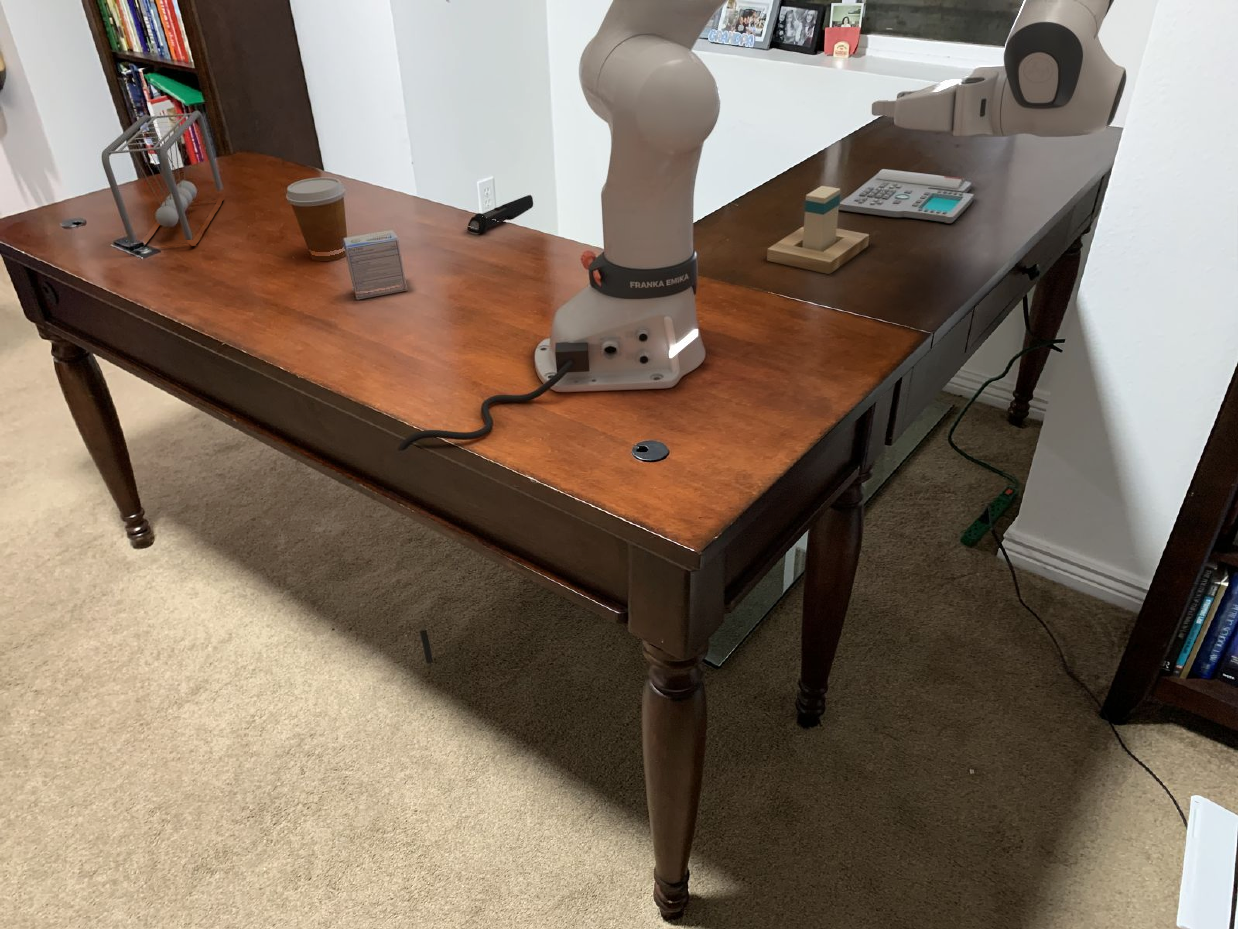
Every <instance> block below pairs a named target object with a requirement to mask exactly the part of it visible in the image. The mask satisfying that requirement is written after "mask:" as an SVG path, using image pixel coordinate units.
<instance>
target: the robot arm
mask: <svg viewBox="0 0 1238 929" xmlns="http://www.w3.org/2000/svg"><path fill="white" fill-rule="evenodd" d="M728 1H729V0H612V2H611V4H610V6H609V8H608V10H607V11H606V14H605V16H604V18H603V20H602V21H601V24H600V26H599V28H598V30H597V32H596V34H595V35H594V36H593V37H592V38H591V39H590V41H588V43H587V44H586V46H585V47H584V49H583V50H582V53H581V56H580V58H579V64H578V80H579V84H580V88H581V90H582V93H583V96H584V98H585V101H586V103H587V104H588V106H589V108H590V109H591V110H592V111H593V113H594V114H595V115H596V116H597V117H598V118H600V119H601V120H603V122H605V123H607V125H608V128H609V132H610V154H609V160H608V161H609V162H608V169H607V174H606V180H605V183H604V184H603V186H602V189H601V192H600V203H601V220H602V221H601V222H602V223H601V224H602V240H603V251H602V252H601V253H600V254H599V255H598V256H597V255H596V254H595V253H594V251H592V250H584V251H583V252H582V254H581V255H580V259H579V260H580V262H581V264H582V267H583V268H584V269H585V270H586V271H588V280H589V283H588V284H587V285H586V286H584V287H583V288H582V289H581V290H580V291H578V292H577V293H576V294H575V295H574V296H572V297H571V298H570V299H568V300H567V301H566V302H564V303H563V304H562V305H561V306H559V307H558V308H557V310H555V313H554V315H553V317H552V321H551V325H550V332H549V338H545V339H543V340H541V342H540V343H539V344H537V347H536V348H535V351H534V368H535V372H536V375H537V377H538V379H539V380H540V381H541V383H542V385H541V386H539V387H538V388H536V389H535V390H533V391H531V392H528V393H525V394H497V395H493V396H490V397H488V398H487V399H485V400H484V401H483V402H482V403H481V406H480V412H481V415H482V417H483V419H484V422H485V425H484V426H483V427H482V428H480V429H478V430H473V431H467V432H465V431H451V430H443V429H442V430H441V429H424V430H419V431H417V432H414V433H412V434H410V435H409V436H408V437H406V438H405V439H403V441H402V442H401V443H400V444H399V445H398V448H397V451H400V452H401V451H405V450H407V449H408V448H409V447H410V446H411V445H412V444H414V443H415V442H417V441H419V440H422V439H423V440H424V439H430V438H431V439H432V438H434V439H445V440H457V441H470V440H471V441H472V440H476V439H479V438H482V437H484V436H486V435H487V434H489V433H490V432H491V431H492V429H493V426H494V420H493V417H492V415H491V412H490V410H489V408H490V407H491V406H492V405H493V404H497V403H525V402H529V401H532V400H535V399H537V398H538V397H540V396H542V395H544V394H545V393H547V392H548V391H549V390H552V391H554V392H557V393H574V392H576V393H577V392H602V391H603V392H604V391H628V390H629V391H630V390H631V391H633V390H655V389H658V390H660V389H671V388H673V387H674V386H676V385H677V384H678V383H679V382H680V380H681V379H682V377H684V376H685V375H687V374H689V373H691V372H693V371H694V370H696V369H697V368H698V367H699V366H701V365H702V363H703V362H704V360H705V359H706V355H707V354H706V353H707V352H706V348H705V346H704V343H703V340H702V339H703V338H702V336H701V331H700V328H699V321H698V314H697V307H696V294H697V290H698V288H697V287H698V280H699V274H698V273H699V266H698V265H699V264H698V258H697V251H696V250H694V199H695V187H696V180H697V175H698V170H699V166H700V161H701V157H702V152H703V148H704V144H705V141H706V140H707V139H708V138H709V136H710V135H711V134H712V132H713V131H714V129H715V126H716V124H717V122H718V119H719V115H720V112H721V111H720V110H721V93H720V88H719V86H718V83H717V81H716V78H715V77H714V76H713V74H712V72H711V71H710V69H709V68H708V66H707V65H706V64H705V63H704V62H703V60H702V59H701V58H700V56H698V54H696V53H695V52H694V51H692V50H693V48H694V47H695V45H696V43H697V42H698V40H699V38H700V37H701V35H702V34H703V32H704V31H705V29H706V27H707V26H708V24H709V23H710V21H711V20H712V19H713V17H714V16H715V15H716V13H718V12H719V10H721V8H723V7H724V6H725V5H726V4H727V3H728ZM1114 2H1115V0H1023V3H1022V6H1021V7H1020V10H1019V13H1018V15H1017V17H1015V20H1014V23H1013V25H1012V28H1011V29H1010V32H1009V34H1008V37H1007V39H1006V42H1005V46H1004V50H1003V51H1004V52H1003V64H1000V65H999V64H997V65H995V64H994V65H979V66H978V65H977V66H976V67H975V69H974V70H973V71H972V73H971V74H970V75H969V76H964V77H962V78H961V79H949V80H948V79H947V80H943V81H940V82H937V83H935V84H932V85H930V86H926V87H924V88H922V89H918V90H917V89H916V90H905V91H901V92H898V93H897V95H896V99H895V100H887V99H886V100H876V101H874V102H872V104H871V115H872V116H875V117H877V116H878V117H879V116H880V117H888V118H892V119H893V123H894V126H895V127H897V128H901V129H905V130H914V131H927V132H941V133H942V132H943V133H945V132H946V133H947V132H948V133H949V132H952V134H953V136H954V137H956V138H959V137H961V138H966V137H971V138H976V137H977V138H983V137H984V138H986V137H987V138H1000V137H1001V138H1008V137H1013V136H1018V135H1024V134H1025V135H1031V136H1035V137H1038V138H1039V137H1040V138H1066V137H1079V136H1088V135H1093V134H1097V133H1100V132H1103V131H1104V130H1106V129H1107V128H1108V127H1110V125H1111V124H1112V123H1113V121H1114V119H1115V118H1116V114H1117V112H1118V109H1119V106H1120V102H1121V99H1122V98H1123V94H1124V91H1125V87H1126V84H1127V70H1126V68H1125V67H1123V66H1120V65H1118V64H1117V63H1115V61H1113V59H1112V58H1111V57H1110V56H1109V55H1108V54H1107V52H1106V50H1105V49H1104V47H1103V45H1102V43H1101V41H1100V38H1099V33H1100V30H1101V28H1102V25H1103V22H1104V20H1105V18H1106V17H1107V15H1108V13H1109V11H1110V9H1111V8H1112V5H1113V4H1114ZM419 635H420V639H421V643H422V648H423V652H424V653H423V654H424V657H425V662H426V664H432V663H433V661H434V660H433V654H432V649H431V644H430V640H429V634H428V630H427V629H422V630H419Z"/></svg>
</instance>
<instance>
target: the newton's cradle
mask: <svg viewBox="0 0 1238 929" xmlns="http://www.w3.org/2000/svg"><path fill="white" fill-rule="evenodd" d="M187 116H188V117H187ZM176 117H177V118H178V117H181V118H180V119H179V120H173V121H171V123H175V124H174V125H168V126H165V128H170V129H169V130H164V131H161V133H165V134H164V135H163V136H161V135H160V136H159V135H158V131H157V130H156V129H158V128H161V126H155V122H154V121H155V120H156V119H164V118H176ZM186 118H187V119H186ZM196 120H197V123H198V126H199V131H200V133H201V137H202V141H203V144H204V147H205V151H206V154H207V158H208V162H209V165H210V168H211V172H212V175H213V179H214V183H215V186H216V190H217V191H218V190H222V189H223V190H224V186H223V183H222V179H221V176H220V173H219V169H218V165H217V161H216V158H215V154H214V151H213V147H212V144H211V140H210V137H209V133H208V129H207V126H206V123H205V122H206V121H205V119H204V117H203V115H202V113H201V112H200V111H199V110H194V111H193V112H190V113H177V114H165V115H152V116H151V115H148V114H142V116H140V117H139V118H138V119H137V120H136V121H135V122H134V123H132V124H131V125H130V126H129V127H128V128H127V129H126V130H125V131H123V133H121V134H120V135H119V136H118V137H117V138H116V139H115V140H114V141H112V142H111V143H110V144H108V146H107V147H105V148H104V149H103V150H102V153H101V163H102V167H103V170H104V173H105V176H106V178H107V179H106V180H107V181H108V185H109V188H110V190H111V193H112V196H113V199H114V202H115V205H116V207H117V210H118V213H119V216H120V219H121V222H122V225H123V227H124V230H125V233H126V235H127V239H128V242H129V244H130V243H134V242H137V238H136V236H135V233H134V229H133V226H132V223H131V221H130V218H129V215H128V212H127V209H126V207H125V203H124V201H123V198H122V195H121V191H120V188H119V185H118V183H117V180H116V177H115V175H114V174H115V173H114V171H113V169H112V165H111V160H110V156H111V155H112V154H113V155H116V154H126V153H132V155H133V156H134V159H135V160H136V162H137V164H138V166H139V168H140V170H141V172H142V174H143V175H144V177H145V179H146V181H147V182H148V185H149V187H150V188H151V191H152V192H153V194H154V196H155V198H156V200H157V201H158V204H159V206H160V207H159V208H158V209H157V210H156V211H155V214H154V215H155V221H156V220H157V222H158V223H159V224H160V225H161V226H162V227H164V228H173V227H175V226H176V225H177V224H178V222H180V225H181V228H182V231H183V234H184V239H185V241H186V240H191V239H192V238H193V237H194V236H193V235H192V232H191V231H192V230H191V228H190V225H189V222H188V218H187V215H186V213H185V212H187V209H188V207H189V206H190V205H192V204H191V202H193V201H194V199H195V198H196V196H197V194H198V190H197V187H196V186H195V185H194V183H192V182H191V181H188V180H186V173H185V172H186V171H185V163H184V152H183V146H182V135H183V134H185V132H186V131H187V130H188V129H189V128H190V127H191V126H192V124H194V122H195V121H196ZM165 123H166V124H167V121H160V122H159V121H158V124H165ZM180 124H181V125H180ZM140 128H141V129H140ZM176 128H177V129H176ZM175 129H176V130H175ZM138 130H139V131H138ZM144 130H146V131H145V132H144ZM172 132H173V133H172ZM171 133H172V134H171ZM142 134H143V135H144V134H148V139H150V140H151V141H150V142H149V144H153V147H149V146H148V145H147V144H148V143H147V142H146V141H145V138H144V137H143V135H142ZM170 134H171V135H170ZM138 136H140V137H139V138H137V137H138ZM160 138H161V139H160ZM166 138H168V139H167V140H165V139H166ZM137 140H143V142H140V143H139V142H137ZM178 140H179V142H180V143H179V144H180V152H181V160H182V168H183V169H182V170H183V178H184V179H181V177H180V167H179V159H178V149H177V141H178ZM133 141H134V142H135V145H137V147H138V148H135V149H132V147H131V145H132V146H133V143H132V142H133ZM140 144H141V145H143V144H144V145H145V146H146V147H145V148H140ZM174 145H175V146H174ZM127 146H128V147H129V149H126V147H127ZM173 146H174V147H175V156H176V166H177V169H176V167H175V166H174V162H173V153H172V147H173ZM169 150H170V156H169V154H168V152H169ZM151 151H152V152H153V151H155V154H156V156H157V160H158V162H159V166H160V168H159V166H158V164H157V161H156V159H155V158H154V156H153V154H152V152H151ZM138 152H140V153H141V155H142V157H143V158H144V161H145V163H146V164H147V166H148V168H149V170H150V172H151V174H152V176H153V177H154V179H155V181H156V183H157V186H158V187H159V189H160V191H161V193H162V195H163V199H164V201H163V202H162V203H161V201H160V199H159V198H158V196H157V194H156V192H155V190H154V188H153V186H152V185H151V183H150V181H149V179H148V177H147V175H146V174H145V172H144V169H143V167H142V165H141V164H140V162H139V160H138V158H137V156H136V155H135V153H138ZM143 152H149V154H150V156H151V158H152V160H153V162H154V164H155V165H156V167H157V169H158V171H159V173H160V174H161V175H160V176H161V181H162V187H161V185H160V183H159V181H158V180H157V178H156V177H155V174H154V172H153V170H152V168H151V166H150V165H149V164H150V163H149V162H148V160H147V159H146V157H145V155H144V153H143ZM175 173H176V175H177V177H178V183H177V182H176V180H175ZM165 186H166V189H167V192H168V195H167V196H166V192H165ZM169 193H170V195H169ZM137 243H138V242H137Z"/></svg>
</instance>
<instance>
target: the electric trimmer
mask: <svg viewBox="0 0 1238 929" xmlns="http://www.w3.org/2000/svg"><path fill="white" fill-rule="evenodd" d="M533 207H534V199H533V196H532V195H531V194H528V195H525V196H522V197H520V198H517V199H514V200H512V201H509V202H507V203H504V204H502V205H499V206H497V207H494V208H493V209H491V210H488V211H485V212H478V213H476V214H475V215H474V216H472V217H471V218H470V219H469V221H468V223H467V232H468V233H469V234H472V235H477V236H479V235H483V234H485V232H486V230H487V229H489V228H492V227H495V226H496V225H498V224H501V223H503V222H505V221H512V220H514V219H516V218H518V217H520V216H521V215H523V214H524V213H526V212H528V211H529V210H530V209H533ZM482 216H483V217H482ZM486 217H487V218H486ZM492 219H496V221H495V220H492ZM497 221H499V222H497ZM468 226H471V227H474V228H471V227H468ZM475 228H477V229H475Z"/></svg>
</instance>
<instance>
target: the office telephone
mask: <svg viewBox="0 0 1238 929" xmlns="http://www.w3.org/2000/svg"><path fill="white" fill-rule="evenodd" d="M971 185H972V182H971V181H966V179H965V178H963V177H955V176H947V175H938V174H928V173H920V172H911V171H903V170H895V169H887V168H886V169H885V168H882V169H881V170H879V171H878V173H876V174H875V175H874V176H873V177H871V178H870V179H869V180H867V181H866V182H865V183H864V184H863V185H861V186H860V187H859V188H858V189H856V190H855V191H854V192H852V193H851V194H850V195H848V196H847V197H845V198H844V199H842V200H840V204H839V210H840V211H844V212H851V213H852V212H853V213H860V214H868V215H876V216H883V217H890V218H911V219H920V220H925V221H926V220H927V221H928V220H929V221H934V222H941V223H945V224H952V223H953V222H955V221H956V220H957V219H958V218H959V217H960V216H961V215H962V214H963V212H964V211H966V209H967V208H968V207H969V206H970V205H971V203H973V199H974V193H968V192H969V191H970V190H971ZM839 210H838V211H839Z"/></svg>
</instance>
